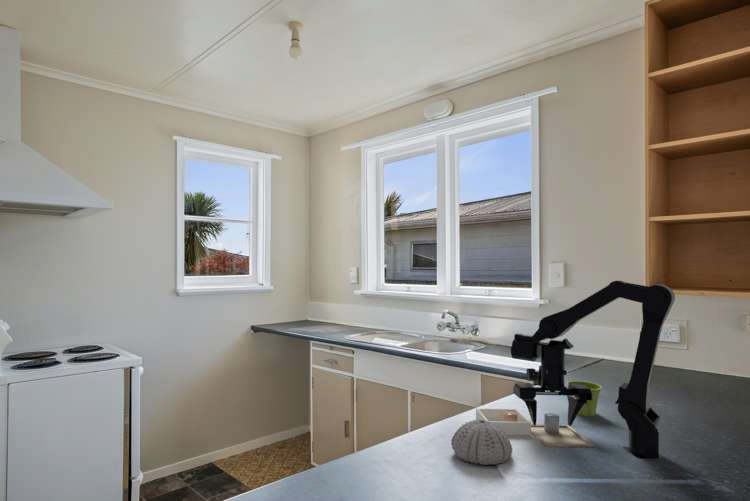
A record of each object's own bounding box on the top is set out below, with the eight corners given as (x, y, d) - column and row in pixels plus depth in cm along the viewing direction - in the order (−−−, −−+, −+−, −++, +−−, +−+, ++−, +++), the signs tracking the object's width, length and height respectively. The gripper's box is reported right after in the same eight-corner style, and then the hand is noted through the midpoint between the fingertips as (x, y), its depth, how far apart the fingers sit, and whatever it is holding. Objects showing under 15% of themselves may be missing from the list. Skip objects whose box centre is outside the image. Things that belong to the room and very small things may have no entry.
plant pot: (605, 421, 131) (605, 390, 131) (569, 418, 133) (570, 387, 133) (596, 411, 140) (597, 382, 141) (563, 408, 142) (563, 380, 142)
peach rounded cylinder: (519, 431, 119) (519, 416, 120) (505, 431, 119) (505, 415, 119) (514, 426, 123) (515, 411, 123) (501, 426, 123) (501, 411, 123)
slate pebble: (561, 433, 119) (561, 417, 119) (547, 433, 119) (547, 417, 119) (555, 428, 122) (555, 413, 122) (542, 428, 122) (542, 413, 122)
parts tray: (594, 449, 110) (594, 445, 110) (543, 448, 110) (544, 444, 110) (568, 428, 124) (568, 424, 124) (523, 428, 124) (523, 424, 124)
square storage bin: (530, 437, 118) (531, 422, 118) (486, 436, 117) (486, 422, 117) (516, 422, 129) (516, 408, 129) (475, 421, 128) (476, 408, 128)
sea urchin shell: (440, 449, 109) (441, 414, 109) (490, 443, 113) (490, 409, 114) (472, 474, 96) (472, 434, 96) (526, 465, 101) (526, 428, 101)
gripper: (574, 358, 129) (573, 415, 129) (507, 357, 129) (506, 414, 128) (594, 367, 118) (593, 430, 118) (521, 366, 118) (520, 428, 117)
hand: (551, 425), depth 120 cm, fingers open, 9 cm apart
